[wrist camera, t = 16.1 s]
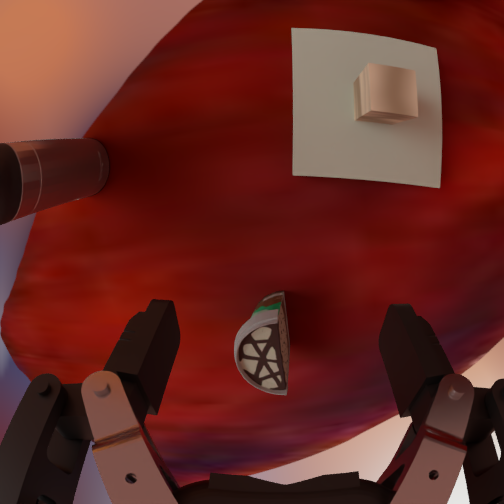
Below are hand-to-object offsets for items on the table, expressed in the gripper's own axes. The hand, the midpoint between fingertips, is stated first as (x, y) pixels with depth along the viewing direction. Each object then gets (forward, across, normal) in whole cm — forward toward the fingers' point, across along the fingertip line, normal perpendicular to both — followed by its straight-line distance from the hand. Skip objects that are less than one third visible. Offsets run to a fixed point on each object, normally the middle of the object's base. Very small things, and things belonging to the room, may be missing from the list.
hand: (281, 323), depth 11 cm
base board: (+29, -11, -8) cm, 32 cm away
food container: (+25, +1, +22) cm, 33 cm away
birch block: (+25, -11, -8) cm, 29 cm away
